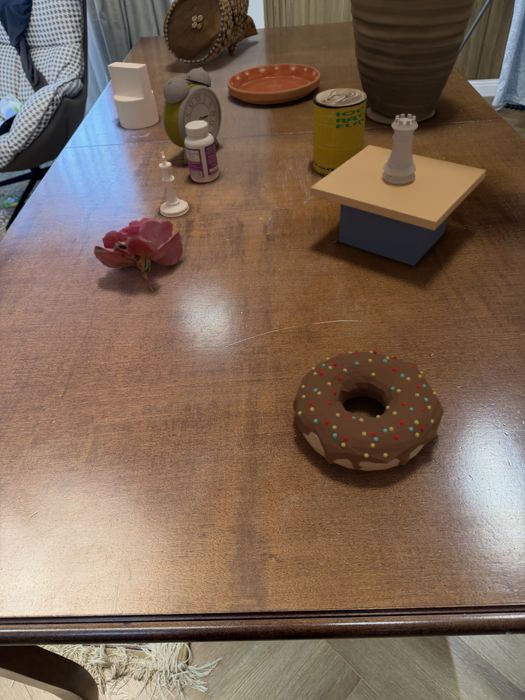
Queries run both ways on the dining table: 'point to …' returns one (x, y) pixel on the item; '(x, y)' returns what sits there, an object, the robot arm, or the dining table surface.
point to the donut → (359, 431)
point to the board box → (395, 202)
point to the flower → (141, 245)
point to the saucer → (274, 83)
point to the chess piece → (171, 193)
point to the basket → (206, 28)
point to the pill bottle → (201, 152)
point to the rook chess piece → (401, 152)
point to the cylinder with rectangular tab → (133, 95)
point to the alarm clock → (190, 106)
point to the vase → (407, 53)
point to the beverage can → (337, 127)
